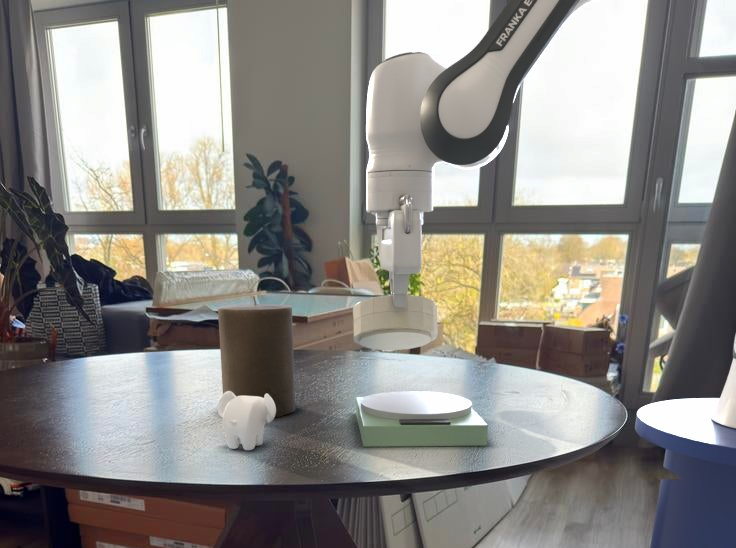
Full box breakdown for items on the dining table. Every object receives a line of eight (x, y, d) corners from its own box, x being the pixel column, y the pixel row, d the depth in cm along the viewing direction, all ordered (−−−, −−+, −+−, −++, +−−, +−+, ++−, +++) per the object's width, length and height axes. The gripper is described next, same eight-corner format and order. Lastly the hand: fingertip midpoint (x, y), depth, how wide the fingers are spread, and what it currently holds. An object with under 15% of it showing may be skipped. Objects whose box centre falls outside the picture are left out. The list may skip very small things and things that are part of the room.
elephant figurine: (289, 439, 84) (288, 388, 82) (259, 457, 77) (256, 402, 75) (237, 434, 86) (234, 384, 84) (203, 451, 79) (199, 397, 77)
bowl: (430, 350, 112) (429, 318, 112) (443, 329, 100) (442, 294, 100) (352, 352, 112) (351, 320, 112) (355, 331, 99) (354, 295, 99)
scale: (460, 414, 97) (461, 390, 95) (486, 445, 82) (488, 418, 80) (356, 414, 96) (356, 390, 95) (363, 446, 81) (363, 418, 80)
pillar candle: (279, 421, 93) (274, 299, 87) (210, 415, 95) (202, 297, 90) (306, 405, 101) (303, 294, 96) (242, 401, 104) (236, 292, 99)
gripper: (435, 192, 86) (432, 312, 91) (414, 201, 105) (412, 300, 110) (382, 193, 86) (382, 313, 90) (370, 202, 105) (371, 301, 110)
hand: (398, 306), depth 100 cm, fingers closed on bowl
